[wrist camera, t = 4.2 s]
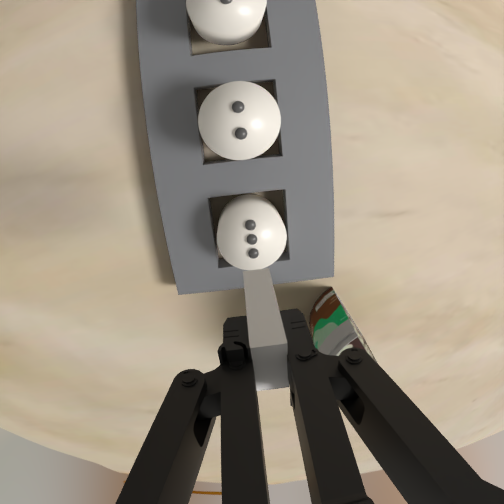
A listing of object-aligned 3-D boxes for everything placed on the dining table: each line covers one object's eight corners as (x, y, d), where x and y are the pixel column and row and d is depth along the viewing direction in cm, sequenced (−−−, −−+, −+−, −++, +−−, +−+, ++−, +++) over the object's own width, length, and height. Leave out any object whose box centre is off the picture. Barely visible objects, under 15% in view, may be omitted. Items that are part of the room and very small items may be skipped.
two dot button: (199, 92, 24) (193, 86, 20) (270, 84, 24) (277, 77, 20) (207, 159, 26) (203, 165, 22) (276, 151, 26) (284, 156, 22)
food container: (279, 306, 35) (293, 368, 26) (325, 277, 34) (355, 332, 25) (327, 365, 39) (346, 422, 30) (366, 342, 38) (394, 396, 29)
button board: (141, -12, 20) (135, -19, 19) (304, -28, 21) (308, -36, 19) (181, 285, 33) (178, 294, 31) (328, 268, 33) (333, 276, 32)
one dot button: (190, -7, 20) (183, -26, 16) (258, -14, 20) (262, -34, 16) (195, 49, 22) (188, 37, 18) (265, 42, 22) (271, 28, 18)
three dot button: (214, 198, 29) (212, 210, 26) (277, 191, 29) (284, 201, 26) (223, 255, 32) (221, 275, 28) (282, 249, 32) (288, 267, 28)
